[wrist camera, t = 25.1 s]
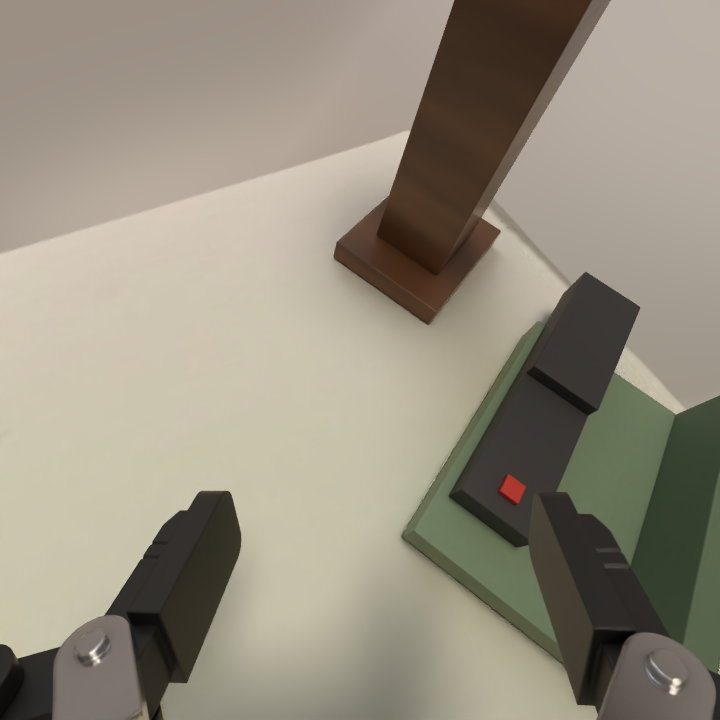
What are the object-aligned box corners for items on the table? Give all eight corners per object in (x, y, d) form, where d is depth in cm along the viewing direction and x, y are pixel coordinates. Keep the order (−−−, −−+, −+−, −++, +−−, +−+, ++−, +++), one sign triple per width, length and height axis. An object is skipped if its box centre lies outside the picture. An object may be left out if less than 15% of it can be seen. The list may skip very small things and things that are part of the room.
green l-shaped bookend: (597, 692, 21) (711, 722, 16) (400, 536, 22) (445, 517, 17) (671, 438, 29) (762, 403, 24) (522, 336, 30) (577, 282, 25)
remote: (516, 548, 21) (544, 542, 19) (447, 496, 22) (468, 485, 20) (614, 327, 30) (641, 307, 28) (563, 293, 30) (585, 271, 28)
